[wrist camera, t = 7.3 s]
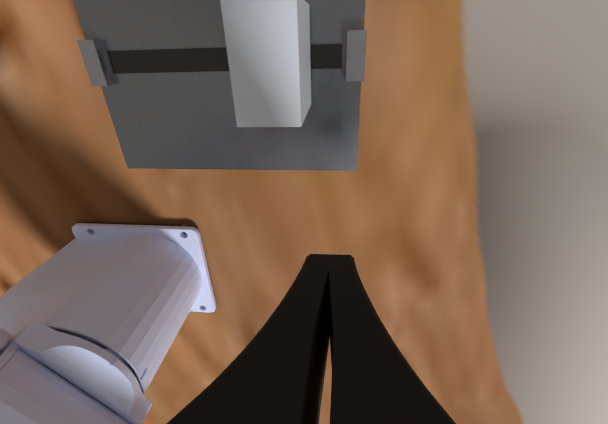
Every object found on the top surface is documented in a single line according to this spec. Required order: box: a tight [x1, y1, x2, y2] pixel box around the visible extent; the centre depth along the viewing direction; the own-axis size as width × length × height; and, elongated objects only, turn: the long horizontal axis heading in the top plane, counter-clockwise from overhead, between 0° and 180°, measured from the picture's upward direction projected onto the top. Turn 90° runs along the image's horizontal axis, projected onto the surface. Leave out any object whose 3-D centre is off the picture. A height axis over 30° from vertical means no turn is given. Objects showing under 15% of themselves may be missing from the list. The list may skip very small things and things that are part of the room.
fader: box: [220, 0, 311, 127], centre depth 13 cm, size 2×4×4 cm, turn 2°
